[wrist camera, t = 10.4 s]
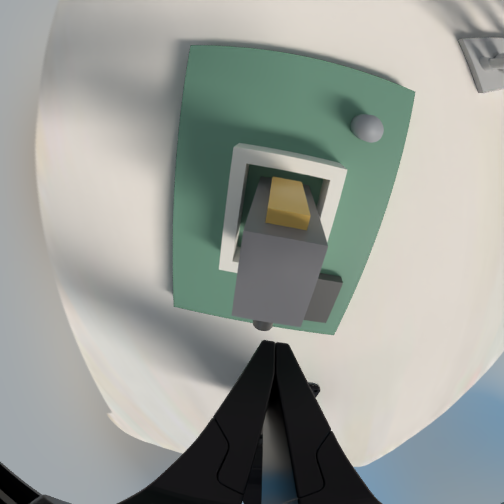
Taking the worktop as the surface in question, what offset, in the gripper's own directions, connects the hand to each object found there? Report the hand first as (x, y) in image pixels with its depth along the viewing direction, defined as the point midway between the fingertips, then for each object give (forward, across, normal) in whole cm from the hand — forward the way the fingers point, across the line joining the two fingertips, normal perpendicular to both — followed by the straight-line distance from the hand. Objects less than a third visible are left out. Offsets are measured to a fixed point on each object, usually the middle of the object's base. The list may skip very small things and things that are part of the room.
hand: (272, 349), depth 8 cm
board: (+12, 0, -1) cm, 12 cm away
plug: (+11, 0, -1) cm, 11 cm away
